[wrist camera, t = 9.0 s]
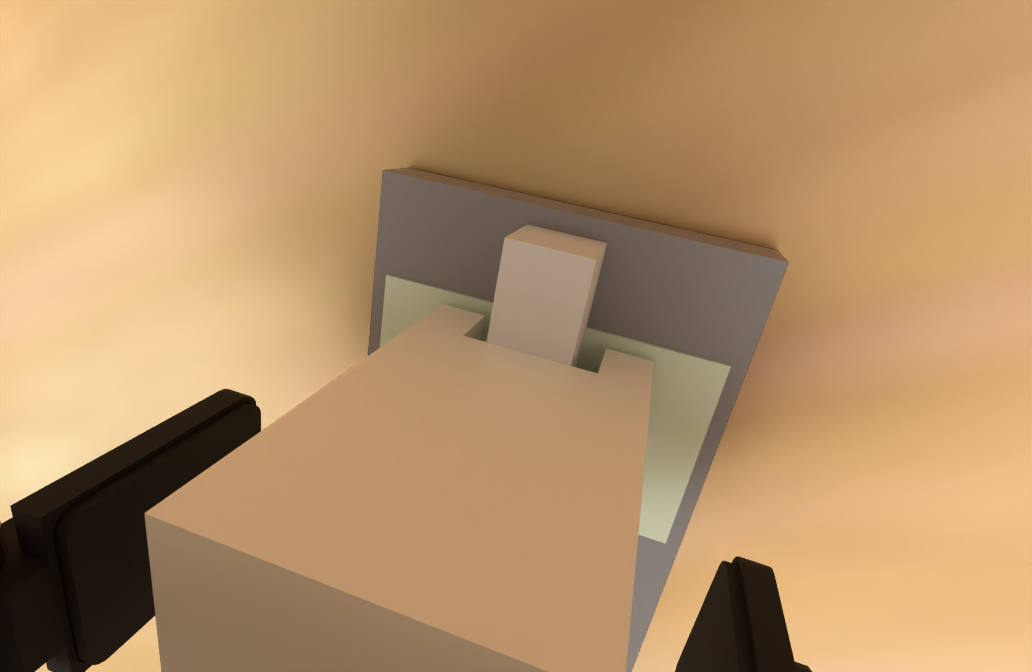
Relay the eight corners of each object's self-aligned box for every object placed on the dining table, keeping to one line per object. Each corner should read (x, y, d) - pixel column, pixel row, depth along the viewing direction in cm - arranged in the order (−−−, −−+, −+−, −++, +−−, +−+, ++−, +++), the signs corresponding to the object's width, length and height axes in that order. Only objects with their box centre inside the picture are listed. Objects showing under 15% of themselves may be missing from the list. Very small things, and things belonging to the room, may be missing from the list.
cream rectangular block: (442, 303, 14) (144, 513, 6) (654, 361, 13) (623, 701, 5) (419, 476, 16) (174, 796, 8) (599, 537, 15) (518, 969, 7)
